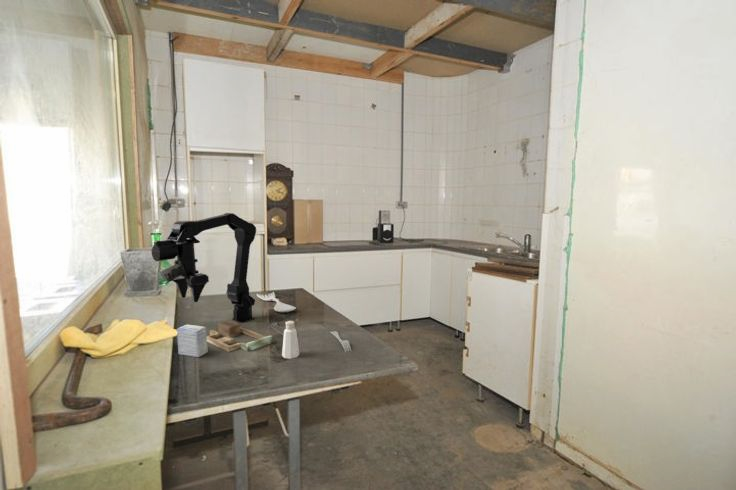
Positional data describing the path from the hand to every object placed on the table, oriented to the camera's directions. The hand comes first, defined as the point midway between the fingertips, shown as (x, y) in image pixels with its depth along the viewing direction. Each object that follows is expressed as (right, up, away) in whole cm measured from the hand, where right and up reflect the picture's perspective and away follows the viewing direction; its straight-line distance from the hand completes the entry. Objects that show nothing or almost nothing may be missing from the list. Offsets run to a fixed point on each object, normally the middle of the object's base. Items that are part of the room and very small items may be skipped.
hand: (189, 299), depth 138 cm
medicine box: (+8, -15, -15) cm, 23 cm away
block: (+13, -13, +2) cm, 19 cm away
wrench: (+31, -13, +6) cm, 34 cm away
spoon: (+22, -9, +40) cm, 46 cm away
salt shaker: (+40, -16, -16) cm, 45 cm away
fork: (+54, -14, -3) cm, 56 cm away
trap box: (+18, -14, -4) cm, 23 cm away
